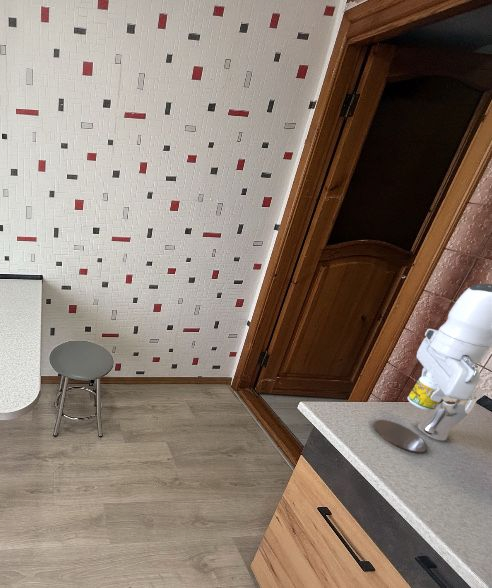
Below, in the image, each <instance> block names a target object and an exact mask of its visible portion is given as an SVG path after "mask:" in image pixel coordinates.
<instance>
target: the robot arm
mask: <svg viewBox="0 0 492 588" xmlns="http://www.w3.org/2000/svg"><path fill="white" fill-rule="evenodd" d="M424 336H425V337H424V338H423V340H422V342H421V343H420V345H419V346H418V349H417V351H416V359H417V360H418V362H419V363H420V364H421V366H422V367H423V368H422V370H421V376H420V377H422V376H426V373H427V372H428V371H430V373H431V377H432V378H433V380H434V381H435V382H436V384H437V385H438V386H437V390H436V391H431V393H430V394H429V397H430V398H431V400H433V401H436V402H440V401H441V400H442V398H443V397H445V396H448V397H451V398H454V399H458V400H462V401H464V400H467V399H469V398H470V396H471V394H472V393H474V391H475V389H476V388H477V386H478V384H479V382H480V379H481V373H480V371H479V370H478V368H479V366H478V364H479V363H481V362H482V360H483V359H484V357H485V356H486V355H487V353H488V352H489V351H490V349H491V348H492V283H479V284H474V285H471V286H470V287H468V288H466V289H465V290H464V291H463V292H462V294H461V295H460V296H459V297H458V299H457V300H456V301H455V303H454V304H453V305H452V307H451V309H450V310H449V312H448V314H447V319H446V321H445V322H444V323H443V324H442V325H440V327H439V328H438V329H434V328H427V330H426V331H425V333H424Z"/></svg>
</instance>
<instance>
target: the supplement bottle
mask: <svg viewBox="0 0 492 588" xmlns="http://www.w3.org/2000/svg"><path fill="white" fill-rule="evenodd" d="M421 376H422V375H421ZM421 376H420V377H419V378H418V380H417V381H416V383H415V384H414V386H413V388H412V390H411V391H410V393H409V394H408V396H407V401H408V402H409V403H410V404H412V405H413V406H415V407H417V408H419V409H421V410H424V411H427V412H428V411H433V410H434V409H435V408H436V407H437V405H438V404H439V402H436V401H433V400H431V398H430V397H429V394H430V393H431V391H436V390H437V386H438V385H437V384H436V382H435V381H434V380H433V378H432V377H431V373H430V371H428V372H427V373H426V376H422V377H421Z"/></svg>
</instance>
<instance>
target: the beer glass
mask: <svg viewBox="0 0 492 588" xmlns="http://www.w3.org/2000/svg"><path fill="white" fill-rule="evenodd" d="M478 400H479V397H478V396H477V394H475V393H474V392H473V393H472V394H471V396H470V398H469V399H467V400H464V401H462V400H458V399H454V398H451V397H448V396H445V397H443V398H442V400H441V401H440V402H439V404H438V405H437V407H436V408H435V409H434V410H433V411H428V410H427V414H426V416H425V417H424V419H423V420H421V421H420V422H419V423H418V424H417V428H418V430H419V431H420V432H422V433H423V434H424V435H426V436H427V437H430V438H431V439H434V440H436V441H442V442H444V441H447V439H448V438H449V433H450V432H451V430H452V429H453V428H454V427H455V426H456V425H458V424H459V423H461V421H463V420H464V419H465V418H466V417H467V416H469V414H470V413H471V412H472V410H473V408H474V407H475V405H476V403H477V401H478Z"/></svg>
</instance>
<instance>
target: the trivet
mask: <svg viewBox="0 0 492 588" xmlns="http://www.w3.org/2000/svg"><path fill="white" fill-rule="evenodd" d="M373 427H374V430H375V432H377V434H378V435H379V436H380V437H381V438H382V439H384V440H385V441H386V442H388V443H390V444H391V445H393V446H395V447H396V448H399V449H400V450H403V451H406V452H408V453H409V452H410V453H414V454H423V453H425V452H426V451H427V444H426V442H425V441H424V440H423V439H422V437H420V436H419V435H418V434H416V432H414V431H412V430H410V429H409V428H407V427H406V426H403V425H401V424H399V423H396V422H393V421H391V420H386V419H385V420H384V419H379V420H377V421H375V422H374V424H373Z"/></svg>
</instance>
